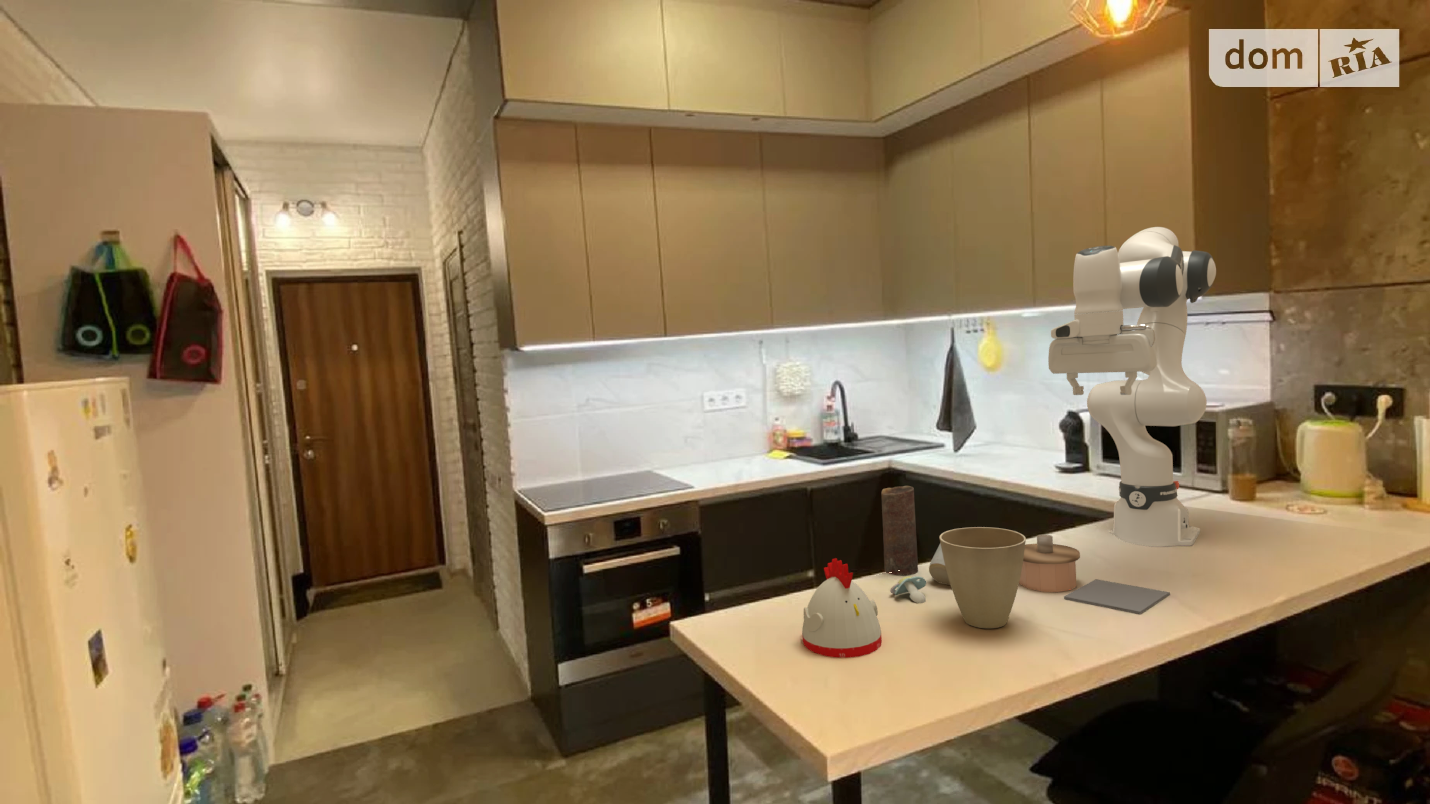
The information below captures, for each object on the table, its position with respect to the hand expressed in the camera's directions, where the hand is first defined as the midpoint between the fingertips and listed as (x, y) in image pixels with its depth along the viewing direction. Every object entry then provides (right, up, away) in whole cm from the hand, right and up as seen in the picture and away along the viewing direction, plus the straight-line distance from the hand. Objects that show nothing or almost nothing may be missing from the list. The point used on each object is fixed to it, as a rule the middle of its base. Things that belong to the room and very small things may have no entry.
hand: (1101, 394), depth 157 cm
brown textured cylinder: (-37, -41, +16) cm, 57 cm away
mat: (-1, -39, -7) cm, 40 cm away
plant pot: (-29, -42, -15) cm, 53 cm away
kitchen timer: (-56, -45, -20) cm, 74 cm away
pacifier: (-40, -43, +1) cm, 59 cm away
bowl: (-10, -39, +4) cm, 41 cm away
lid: (-10, -34, +3) cm, 36 cm away
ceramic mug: (-27, -41, +6) cm, 49 cm away
